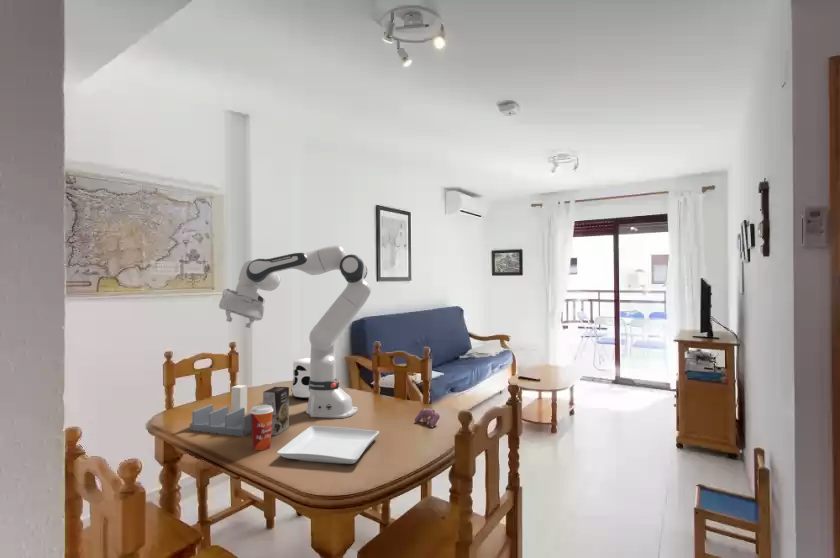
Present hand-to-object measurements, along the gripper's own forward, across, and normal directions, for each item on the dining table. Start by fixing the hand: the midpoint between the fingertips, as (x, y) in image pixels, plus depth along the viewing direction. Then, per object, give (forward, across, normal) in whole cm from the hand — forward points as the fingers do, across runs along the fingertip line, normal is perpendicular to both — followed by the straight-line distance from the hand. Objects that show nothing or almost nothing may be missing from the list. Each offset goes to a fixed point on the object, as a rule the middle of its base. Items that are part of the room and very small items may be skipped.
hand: (238, 324), depth 192 cm
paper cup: (+50, -1, -34) cm, 60 cm away
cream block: (+36, +13, +6) cm, 39 cm away
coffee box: (+43, +11, -24) cm, 51 cm away
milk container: (+23, +48, +3) cm, 53 cm away
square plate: (+49, +12, -55) cm, 74 cm away
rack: (+43, +1, -6) cm, 43 cm away
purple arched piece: (+36, +52, -67) cm, 92 cm away
